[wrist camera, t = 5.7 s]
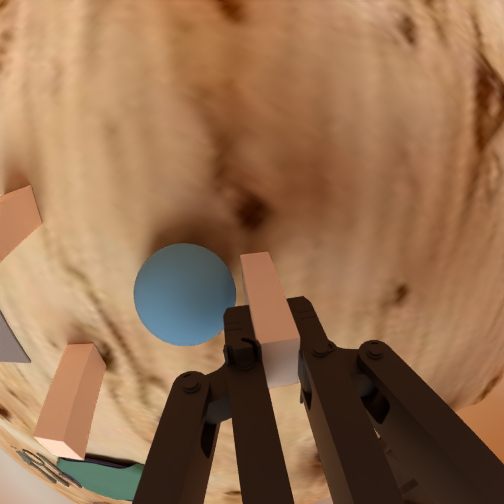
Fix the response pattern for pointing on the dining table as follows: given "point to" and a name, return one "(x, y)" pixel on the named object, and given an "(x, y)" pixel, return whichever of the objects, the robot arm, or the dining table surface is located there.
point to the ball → (184, 294)
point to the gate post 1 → (17, 218)
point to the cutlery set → (94, 475)
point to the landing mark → (10, 345)
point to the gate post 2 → (71, 402)
